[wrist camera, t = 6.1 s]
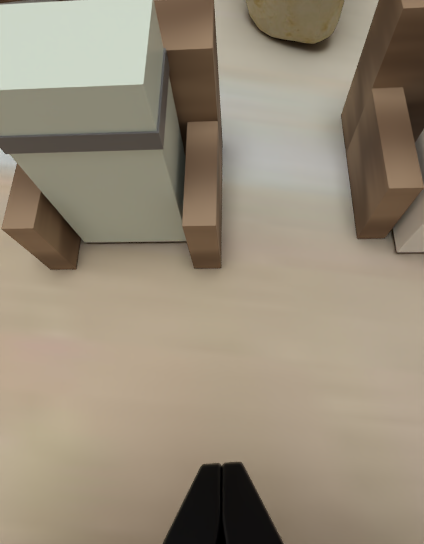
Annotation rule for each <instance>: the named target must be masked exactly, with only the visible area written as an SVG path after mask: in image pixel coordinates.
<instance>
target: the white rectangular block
mask: <svg viewBox="0 0 424 544" xmlns="http://www.w3.org/2000/svg"><path fill="white" fill-rule="evenodd" d="M415 147H416V151H417V156H418V161H419V166H420V170H421V175H422V180H423V185H424V129H423V131H422V133H421V134H420V136H419V137H418V139H417V141H416V142H415ZM393 232H394V238H395V244H396V250H397V252H424V189H423V190H422V191H421V192H420V194H419V195H418V196H417V197H416V199H415V200H414V201H413V203H412V204H411V205H410V206H409V208H408V209H407V210H406V212H405V213H404V214H403V215H402V217H401V218H400V219H399V221H398V222H397V223H396V224H395V226H394V227H393Z"/></svg>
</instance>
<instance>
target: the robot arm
mask: <svg viewBox="0 0 424 544" xmlns="http://www.w3.org/2000/svg"><path fill="white" fill-rule="evenodd" d="M163 544H284V543H283V541H282V539H281V537H280V535H279V533H278V532H277V530H276V528H275V526H274V524H273V522H272V520H271V518H270V516H269V514H268V512H267V510H266V508H265V506H264V504H263V502H262V500H261V498H260V496H259V494H258V493H257V491H256V489H255V487H254V485H253V483H252V481H251V479H250V477H249V475H248V473H247V471H246V469H245V467H244V465H243V464H242V463H241V462H228V463H224V464H223V465H221V464H219V463H212V464H203V465H202V466H201V467H200V469H199V471H198V473H197V475H196V477H195V479H194V481H193V483H192V485H191V487H190V489H189V491H188V493H187V495H186V497H185V499H184V501H183V503H182V505H181V507H180V509H179V511H178V513H177V515H176V517H175V519H174V521H173V523H172V526H171V528H170V530H169V532H168V534H167V536H166V538H165V540H164V542H163Z"/></svg>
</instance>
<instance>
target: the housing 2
mask: <svg viewBox="0 0 424 544" xmlns="http://www.w3.org/2000/svg"><path fill="white" fill-rule="evenodd" d="M341 118H342V125H343V133H344V141H345V148H346V156H347V164H348V172H349V179H350V187H351V195H352V202H353V210H354V218H355V225H356V233H357V239H364V238H385V237H386V236H387V235H388V233H389V232H390V231H391V230H392V228H393V227H394V226H395V224H396V223H397V222H398V221H399V219H400V218H401V217H402V215H403V214H404V213H405V212H406V210H407V209H408V208H409V206H410V205H411V204H412V203H413V201H414V200H415V199H416V197H417V196H418V195H419V194H420V192H421V191H422V190H423V189H424V185H423V180H422V175H421V170H420V166H419V161H418V156H417V151H416V147H415V142H416V141H417V139H418V137H419V136H420V134H421V133H422V131H423V129H424V0H379V2H378V5H377V8H376V11H375V14H374V17H373V20H372V23H371V26H370V29H369V32H368V35H367V38H366V41H365V44H364V47H363V50H362V53H361V57H360V60H359V63H358V66H357V69H356V72H355V75H354V78H353V81H352V84H351V87H350V90H349V93H348V96H347V99H346V102H345V105H344V108H343V111H342V114H341Z"/></svg>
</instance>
